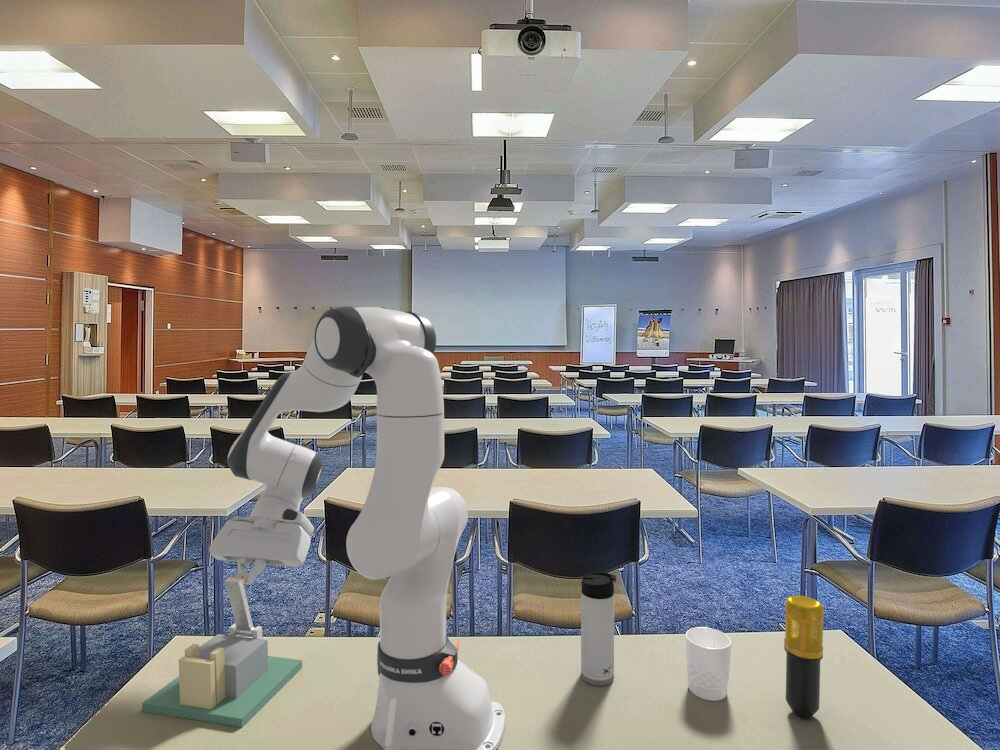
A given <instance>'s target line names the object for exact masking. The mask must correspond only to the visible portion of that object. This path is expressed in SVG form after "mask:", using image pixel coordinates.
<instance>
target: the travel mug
mask: <svg viewBox="0 0 1000 750" xmlns="http://www.w3.org/2000/svg"><path fill="white" fill-rule="evenodd" d="M616 582H617V576H616V575H615V574H611V573H609V572H604V571H601V572H599V571H597V572H590V573H588V574H585V575H584V576H583V577H582V578H581V591H580V593H581V594H580V595H581V596H580V597H581V598H580V603H581V604H580V607H581V608H580V611H581V612H580V613H581V614H580V615H581V616H580V648H581V649H580V652H581V653H580V676H581V679H582V680H583V681H584V682H585V683H588V684H590V685H593V686H598V687H599V686H600V687H602V686H603V687H604V686H607V685H610V684H611V683H612V682H613V681H614V679H615V674H614V673H615V586H614V585H615V584H614V583H616Z"/></svg>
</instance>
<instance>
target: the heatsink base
mask: <svg viewBox="0 0 1000 750" xmlns="http://www.w3.org/2000/svg"><path fill="white" fill-rule="evenodd" d="M253 628H254V629H253V630H252V633H253V637H248V636H240V635H236V634H235V630H236V624H235V623H233V624H231V626H229V627H228V630H229V631H228V633H229V634H221V633H220V634H219V633H218V634H216V635H215V636H213V637H212V638H210V639H208V640H207V641H206V642H204V643H203V644H202V645H199V644H195V643H193V644H191V645H189V647H187V648H185V649H184V656H182V657H180V658H179V659H178V676H177V677H175V679H173V680H171V681H170V682H169V683H168V684H166V685H164V686H163V687H162V688H161V689H159V690H158V691H156V692H155V693H153V694H152V695H151V696H150V697H148V698H147V699H145V700H144V701H143V702H142V703H141V704H142V705H141V706H142V707H141V709H142V712H143V711H145V713H149V712H150V714H157V715H161V716H162V715H163V716H169V717H175V718H181V719H187V720H192V721H193V720H195V721H200V722H205V723H212V724H218V725H225V726H230V727H235V728H237V727H238V728H243V727H244V726H245V725H246V724H247V723H248V722H249V721H251V719H252V718H253V717H254V716H255V715H256V714H257V713H258V712H260V710H261V709H262V708H264V707H265V705H267V704H268V702H269V701H270V700H272V698H273V697H274V696H276V695H277V694H278V693H279V691H280V690H281V689H282V688H284V686H285V685H286V684H288V682H290V681H291V679H292V678H294V677H295V676H296V675H297V674H298V673H299V671H301V669H302V668H303V660H302V659H295V658H294V659H293V658H290V657H289V658H288V657H280V656H273V655H269V651H268V650H269V648H268V645H269V644H268V639H263V626H260V625H257V626H256V627H253Z"/></svg>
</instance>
